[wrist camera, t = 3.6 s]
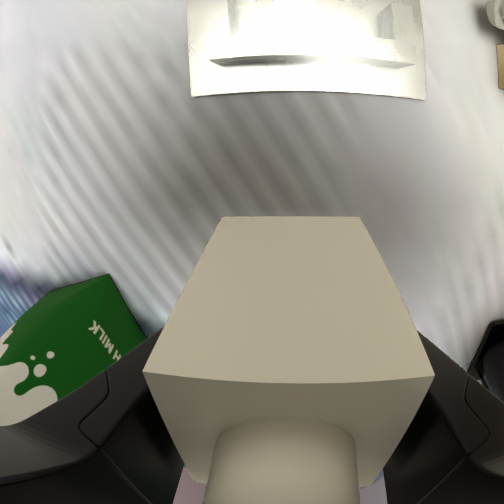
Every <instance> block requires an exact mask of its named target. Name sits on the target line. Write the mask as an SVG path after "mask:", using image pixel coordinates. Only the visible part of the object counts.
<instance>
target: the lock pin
mask: <svg viewBox="0 0 504 504" xmlns="http://www.w3.org/2000/svg"><path fill="white" fill-rule="evenodd" d="M486 11H487V16H488V19H489V21H490V23H491V24H492V25H493V26H495V27H497V28H500V29H502V30H504V0H487V4H486Z"/></svg>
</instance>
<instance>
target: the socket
mask: <svg viewBox="0 0 504 504" xmlns="http://www.w3.org/2000/svg"><path fill="white" fill-rule="evenodd" d="M187 27H188V49H189V68H190V85H191V97H197V96H206V95H217V94H229V93H245V92H267V91H326V92H348V93H363V94H375V95H386V96H395V97H403V98H411V99H418V100H426V68H425V50H424V37H423V26H422V17H421V9H420V1H419V0H187Z"/></svg>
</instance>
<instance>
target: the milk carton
mask: <svg viewBox="0 0 504 504" xmlns="http://www.w3.org/2000/svg"><path fill="white" fill-rule="evenodd" d="M145 340H146V337H145V336H144V334H143V332H142V331H141V329H140V328H139V326H138V324H137V323H136V321H135V319H134V318H133V316H132V314H131V313H130V311H129V309H128V307H127V306H126V304H125V302H124V300H123V299H122V297H121V295H120V293H119V292H118V290H117V288H116V286H115V284H114V283H113V281H112V279H111V277H110V275H109V274H108V275H104V276H101V277H97V278H94V279H90V280H87V281H83V282H80V283H76V284H73V285H70V286H66V287H63V288H59V289H56V290H52V291H50V292H49V293H48V294H46V295H45V296H44V297H43V298H42V299H40V300H39V301H38V302H37V303H36V304H35V305H33V306H32V307H31V308H30V309H29V310H28V311H26V312H25V313H24V314H23V315H22V316H21V317H20V318H19V319H18V320H17V321H16V322H15V323H14V324H13V325H12V326H11V327H10V328H9V329H8V330H7V331H6V332H5V334H4V335H3V336H2V337H1V338H0V426H8V425H12V424H15V423H18V422H21V421H23V420H25V419H27V418H28V417H30V416H32V415H34V414H35V413H37V412H39V411H41V410H42V409H44V408H46V407H48V406H49V405H51V404H53V403H55V402H56V401H58V400H60V399H61V398H63V397H65V396H66V395H68V394H70V393H71V392H73V391H75V390H76V389H78V388H79V387H81V386H82V385H84V384H85V383H87V382H88V381H90V380H91V379H92V378H94V377H95V376H97V375H98V374H99V373H101V372H102V371H104V370H106V371H107V368H108V367H109V366H111V365H112V364H113V363H115V362H116V361H117V360H119V359H120V358H122V357H123V356H124V355H126V354H127V353H128V352H130V351H131V350H133V349H134V348H135V347H137V346H138V345H139V344H141V343H142V342H144V341H145Z"/></svg>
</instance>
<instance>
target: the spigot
mask: <svg viewBox="0 0 504 504" xmlns="http://www.w3.org/2000/svg"><path fill="white" fill-rule="evenodd" d="M142 372H143V374H144V377H145V379H146V382H147V384H148V387H149V389H150V391H151V394H152V396H153V398H154V401H155V403H156V405H157V408H158V410H159V412H160V414H161V417H162V419H163V421H164V423H165V425H166V428H167V430H168V432H169V434H170V436H171V438H172V440H173V442H174V444H175V446H176V448H177V450H178V452H179V454H180V456H181V458H182V460H183V462H184V464H185V466H186V468H187V470H188V471H189V473H190V475H191V477H192V479H193V480H194V482H199V483H206V484H207V487H206V491H205V496H204V500H203V504H360V494H359V487H367V486H371V485H372V483H373V482H374V481H375V479H376V478H377V476H378V475H379V473H380V472H381V470H382V469H383V467H384V466H385V464H386V463H387V461H388V460H389V458H390V457H391V455H392V454H393V452H394V450H395V449H396V447H397V446H398V444H399V442H400V441H401V439H402V437H403V436H404V434H405V432H406V430H407V429H408V427H409V425H410V423H411V422H412V420H413V418H414V416H415V414H416V413H417V411H418V409H419V407H420V405H421V403H422V401H423V399H424V397H425V395H426V393H427V391H428V389H429V387H430V385H431V383H432V381H433V379H434V377H435V374H434V371H433V369H432V366H431V364H430V361H429V359H428V356H427V354H426V351H425V349H424V347H423V344H422V342H421V339H420V337H419V335H418V332H417V330H416V328H415V326H414V323H413V321H412V319H411V317H410V314H409V312H408V310H407V308H406V306H405V304H404V301H403V299H402V297H401V295H400V293H399V291H398V289H397V287H396V285H395V283H394V281H393V279H392V277H391V275H390V273H389V271H388V269H387V267H386V265H385V263H384V261H383V259H382V257H381V255H380V253H379V251H378V249H377V247H376V246H375V244H374V242H373V240H372V238H371V236H370V234H369V233H368V231H367V229H366V227H365V225H364V224H363V222H362V220H361V218H360V217H328V216H241V217H222V218H221V220H220V222H219V224H218V225H217V227H216V229H215V231H214V233H213V235H212V236H211V238H210V240H209V242H208V244H207V246H206V247H205V249H204V251H203V253H202V255H201V257H200V259H199V261H198V262H197V264H196V266H195V268H194V270H193V272H192V274H191V276H190V278H189V279H188V281H187V283H186V285H185V287H184V289H183V291H182V293H181V295H180V297H179V299H178V301H177V303H176V305H175V306H174V308H173V310H172V312H171V314H170V316H169V318H168V320H167V322H166V324H165V326H164V328H163V330H162V332H161V334H160V336H159V338H158V340H157V342H156V344H155V346H154V348H153V350H152V352H151V354H150V356H149V359H148V361H147V363H146V365H145V367H144V369H143V371H142Z"/></svg>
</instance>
